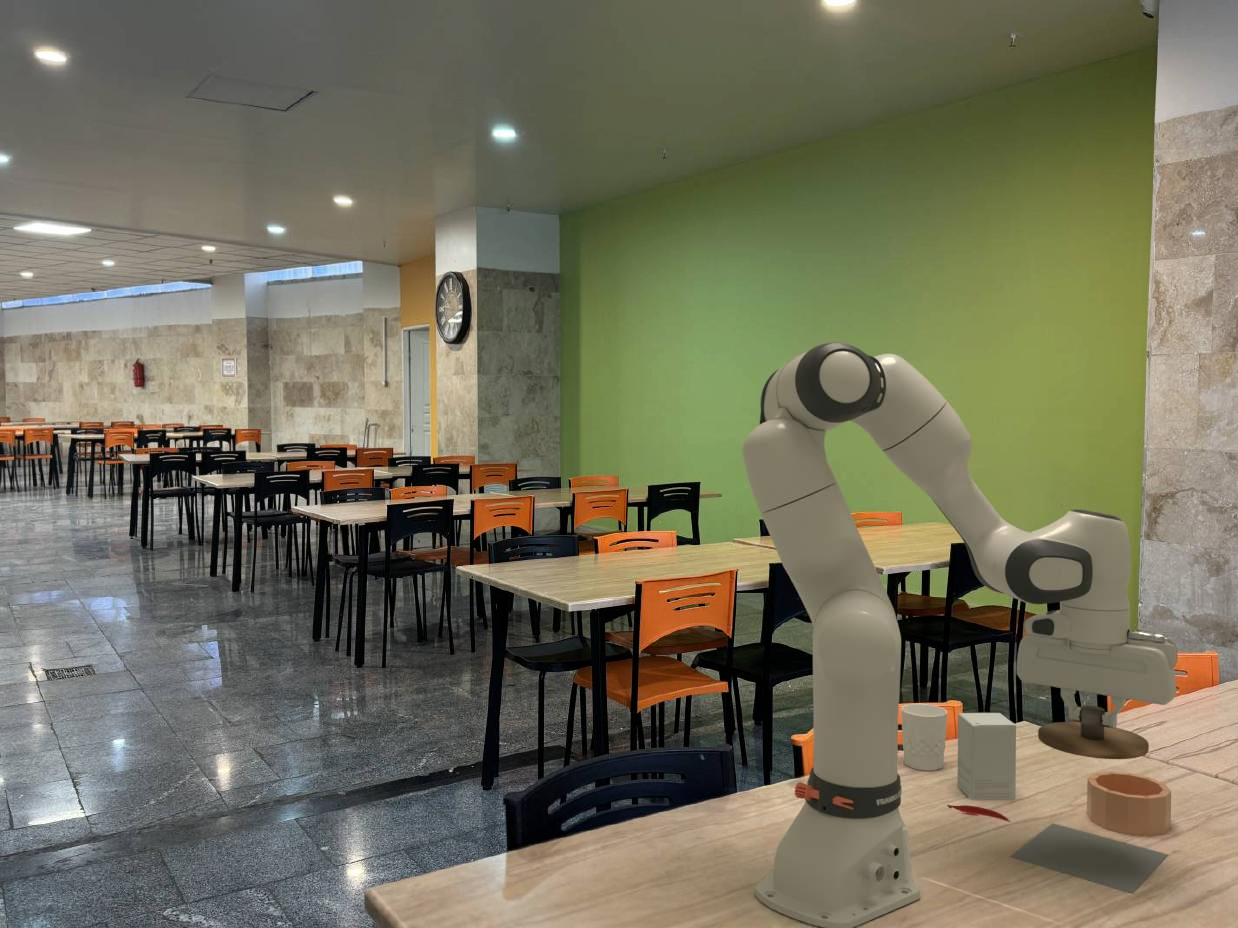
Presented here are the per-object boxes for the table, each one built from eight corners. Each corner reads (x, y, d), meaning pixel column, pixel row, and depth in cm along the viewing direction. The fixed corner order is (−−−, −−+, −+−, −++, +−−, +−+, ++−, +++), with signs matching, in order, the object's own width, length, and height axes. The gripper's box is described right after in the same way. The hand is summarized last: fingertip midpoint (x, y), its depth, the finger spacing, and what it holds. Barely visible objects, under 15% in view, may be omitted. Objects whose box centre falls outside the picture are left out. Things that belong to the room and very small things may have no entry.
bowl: (1156, 844, 144) (1157, 803, 144) (1077, 823, 152) (1078, 784, 152) (1178, 822, 152) (1178, 783, 152) (1102, 803, 160) (1102, 766, 160)
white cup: (892, 759, 181) (892, 705, 181) (929, 755, 183) (929, 701, 183) (917, 774, 173) (918, 717, 173) (955, 769, 176) (956, 713, 175)
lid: (1086, 763, 131) (1087, 727, 131) (1016, 731, 144) (1017, 699, 144) (1172, 753, 135) (1173, 718, 134) (1096, 723, 148) (1097, 692, 148)
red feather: (937, 809, 159) (937, 797, 159) (956, 803, 161) (956, 791, 161) (1002, 835, 149) (1002, 823, 149) (1021, 828, 151) (1021, 816, 151)
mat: (1132, 896, 128) (1132, 893, 128) (1009, 858, 140) (1009, 856, 140) (1168, 857, 140) (1168, 854, 140) (1052, 825, 151) (1052, 823, 151)
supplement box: (1016, 802, 161) (1017, 725, 160) (970, 801, 161) (971, 724, 160) (1000, 785, 168) (1001, 711, 168) (956, 785, 168) (956, 711, 168)
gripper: (1183, 632, 134) (1181, 733, 135) (1028, 613, 148) (1026, 705, 148) (1172, 640, 130) (1169, 744, 130) (1013, 619, 143) (1011, 714, 144)
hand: (1092, 723), depth 139 cm, fingers closed on lid, 3 cm apart
